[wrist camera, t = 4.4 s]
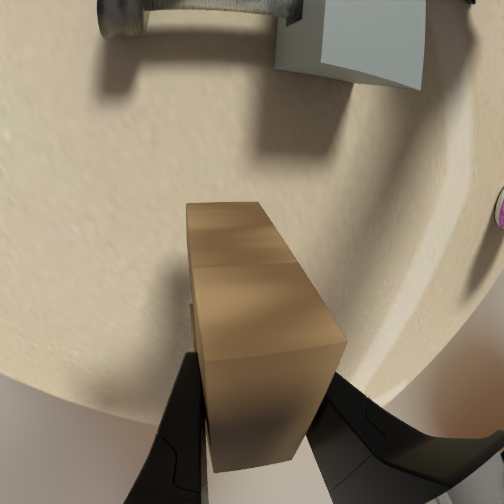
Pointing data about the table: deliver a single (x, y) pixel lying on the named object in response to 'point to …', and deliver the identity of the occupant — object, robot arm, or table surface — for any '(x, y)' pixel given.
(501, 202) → the supplement bottle
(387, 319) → the table surface
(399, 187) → the table surface
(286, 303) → the block
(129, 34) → the shaft
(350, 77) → the block
